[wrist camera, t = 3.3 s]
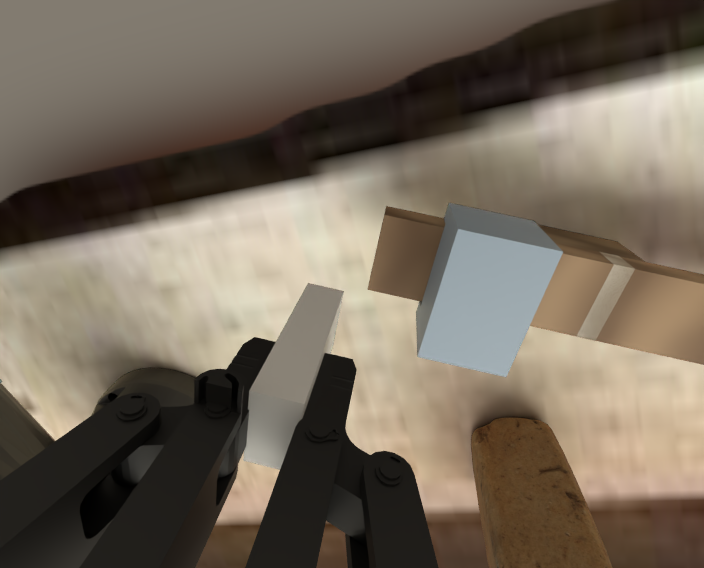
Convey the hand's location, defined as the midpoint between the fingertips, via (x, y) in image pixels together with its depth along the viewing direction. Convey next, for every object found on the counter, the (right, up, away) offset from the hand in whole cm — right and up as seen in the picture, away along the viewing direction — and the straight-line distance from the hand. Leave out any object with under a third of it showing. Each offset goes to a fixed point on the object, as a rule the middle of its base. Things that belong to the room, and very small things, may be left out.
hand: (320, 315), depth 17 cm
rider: (+9, +2, +8) cm, 12 cm away
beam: (+17, +3, +14) cm, 22 cm away
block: (+17, -15, +23) cm, 32 cm away
